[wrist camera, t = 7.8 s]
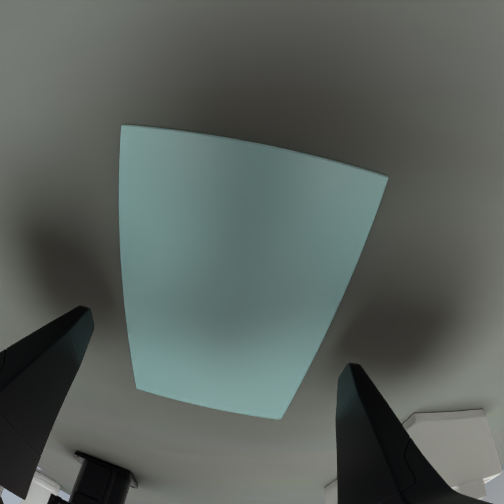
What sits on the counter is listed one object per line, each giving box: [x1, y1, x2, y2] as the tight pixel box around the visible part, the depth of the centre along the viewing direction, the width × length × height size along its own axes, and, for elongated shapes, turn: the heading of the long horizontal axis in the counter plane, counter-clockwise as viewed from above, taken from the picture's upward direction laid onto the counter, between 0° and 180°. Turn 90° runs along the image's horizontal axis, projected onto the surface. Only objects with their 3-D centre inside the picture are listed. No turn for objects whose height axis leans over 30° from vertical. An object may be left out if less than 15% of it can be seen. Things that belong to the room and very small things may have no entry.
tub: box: [325, 409, 502, 504], centre depth 15 cm, size 14×6×6 cm, turn 170°
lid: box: [119, 124, 388, 420], centre depth 12 cm, size 12×7×2 cm, turn 170°
